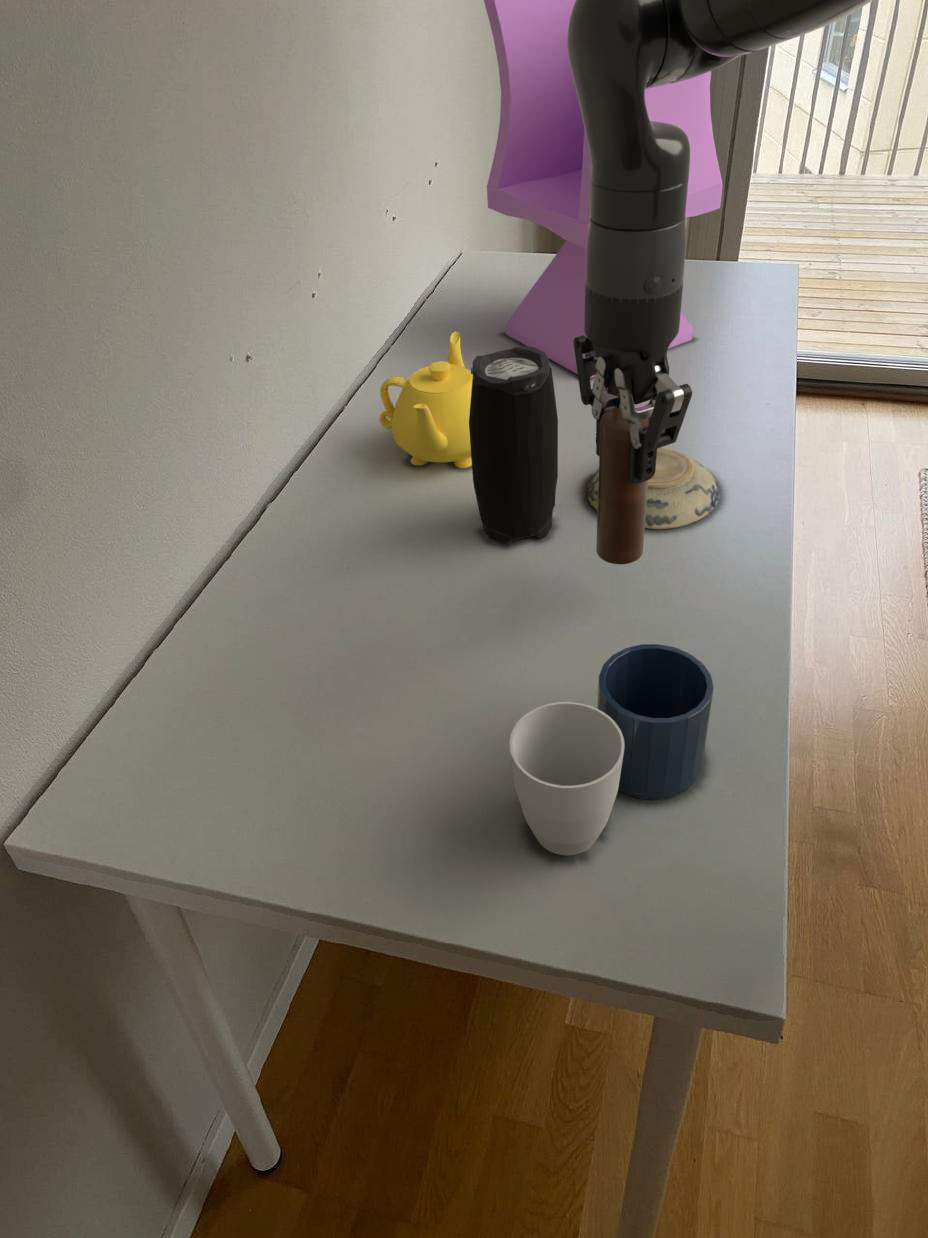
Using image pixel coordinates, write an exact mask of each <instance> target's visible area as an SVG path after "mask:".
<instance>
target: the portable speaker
mask: <svg viewBox="0 0 928 1238" xmlns="http://www.w3.org/2000/svg"><path fill="white" fill-rule="evenodd" d="M471 363H472V364H471V365H472V366H471V367H470V372H471V374H473V379H472V391H471V403H470V414H469V431H470V445H471V460H472V465H471V472H472V483H473V489H474V493H475V499H476V503H477V509H478V513H479V520H480V521H481V525H482V529H483V532H484V533H485V534H486V536H487V537H488V539H489V540H492V541H494V542H497V543H499V544H502V545H508V544H509V543H511V542H512V541H513V540H514V541H515V540H518V539H525V538H529V537H534V536H537V537H538V538H539V539H542V538H545V537H547V535H548V534H549V532H550V531H551V529H552V527H553V526H552V525H553V513H554V508H555V507H556V495H557V483H558V475H559V474H558V473H559V472H558V471H559V465H558V463H559V457H558V456H559V452H558V451H559V417H558V409H557V401H556V392H555V385H554V378H553V377H554V376H553V369H552V367H551V362H550V359H549V358H548V357H547V355H546V354H545V352H543V351H541V350H539V349H537V348H535V347H528V346H526V345H524V346H523V345H516V346H513V347H511V348H507V349H503V350H499V351H495V352H491V353H488V354H484V355H476V356H475V358H474V359H473V360H472V362H471Z"/></svg>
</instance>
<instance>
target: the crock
mask: <svg viewBox="0 0 928 1238" xmlns="http://www.w3.org/2000/svg"><path fill="white" fill-rule="evenodd" d="M711 674H712V673H710V672H709V670H708V668H707V667H706V665H705V664H704V663H703V662H702V661H701V660H699V659H698V658H697V657H695V655H693V654H691V653H689V652H687V651H685V650H683V649H680V648H678V647H675V646H670V645H665V644H661V643H644V644H643V643H642V644H637V645H633V646H629V647H626V648H622V649H621V650H619V651H617V652H615V653H614V654H612V655H610V657H609V658H608V659H607V660H606V661H605V662H604V664H602V667H601V670H600V672H599V674H598V684H597V685H598V687H597V688H598V689H597V691H598V692H597V709H599V710H600V711H602V712H604V713H605V714H607V715H608V716H609V717H610V718H612V719H613V720H614V722H615V723H616V724H617V725H618V727H619V728H620V730H621V732H622V735H623V738H624V755H623V761H622V768H621V774H620V780H619V787H618V791H619V792H620V793H622V794H624V795H627V796H630V797H633V798H638V799H641V800H650V801H651V800H653V801H655V800H664V799H670V798H674V797H676V796H678V795H680V794H682V793H684V792H686V791H688V789H689V788H691V787H692V786H693V785H694V784H695V783H696V781H697V780H698V778H699V776H700V773H701V770H702V764H703V762H704V761H703V760H704V754H705V748H706V741H707V735H708V728H709V721H710V714H711V709H712V702H713V695H714V689H715V687H714V683H713V678H712V675H711Z"/></svg>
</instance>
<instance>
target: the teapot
mask: <svg viewBox="0 0 928 1238" xmlns="http://www.w3.org/2000/svg"><path fill="white" fill-rule="evenodd" d="M448 342H449V343H448V351H447V359H446V361H442V360H441V361H440V360H439V361H435V362H432V363H430V364H429V365H426V366H424V367H421V368H419V369H418V370H416V371H414V372H413V373H412V374H411V375H410V376H409V377H408V379H406V378H404V377H401V376H392V377H389V378H387V379H385V381H383V383H381V386H380V389H379V390H380V400H381V402H382V404H383V407H384V411H382V412H381V413H380V415H379V423H380V425H381V427H384V428H386V429H388V430H391V431H392V437H393V439H394V441H395V443H396V444H397V445H398V446H399V447H400V448H401V449H402V450H403V451H404V452H405V453H408V454H409V455H410V456H412V457H411V458H410V464H412V465H414V466H423V465H426V464H428V463H451V462H453V463H454V466H455V467H456V468H459V469H466V468H469V467H472V460H471V445H470V431H469V414H470V403H471V391H472V379H473V374H471V370H470V369H468V368H466V367H465V364H464V359H463V357H462V350H461V334H460V332H459V331H454V332H452V333H451V335H450V337H449V341H448ZM390 386H396V387H400V388H402V389H401V391H400V393H399V395H398V398H397V400H396V402H395V405H394V404H393V402H392V399H391V396H390V393H389V387H390ZM387 417H388V418H387Z"/></svg>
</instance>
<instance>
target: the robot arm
mask: <svg viewBox="0 0 928 1238" xmlns="http://www.w3.org/2000/svg"><path fill="white" fill-rule="evenodd" d="M873 1H874V0H576V1H575V4H574V7H573V10H572V13H571V16H570V21H569V27H568V40H567V43H568V56H569V62H570V68H571V72H572V77H573V81H574V85H575V89H576V93H577V97H578V102H579V106H580V110H581V115H582V120H583V125H584V130H585V134H586V139H587V143H588V148H589V152H590V158H591V183H590V222H589V231H588V237H587V244H586V265H585V316H584V331H585V335H582V336H579V337H576V338H574V341H573V344H574V351H575V358H576V366H577V373H578V374H577V380H578V388H579V394H580V400H581V402H582V404H583V405H585V406H588V405H590V406H591V415H592V417H593V418H594V420H596V422H595V423H596V424H595V453H596V455H597V456H598V457H599V451H600V421H601V417H602V415H603V414H604V413H605V412H607V411H609V410H611V409H615V408H621V409H622V417H623V419H624V420H625V421H628V423H629V430H630V438H631V443H632V444H631V445H630V455H629V473H628V479H629V480H630V481H631V482H632V483H634V484H639V483H641V482H644V481H647V480H650V479H651V478H652V477H653V476H654V474H655V470H656V467H655V466H656V458H657V449H658V448H664V447H667V446H669V445H672V444H675V443H676V442H677V439H678V437H679V435H680V431H681V428H682V425H683V423H684V419H685V416H686V415H687V411H688V408H689V406H690V402H691V399H692V397H693V390H692V387H691V386H690V385H689V384H688V383H683V384H681V385H678V384H677V383H676V382H674V380H673V379H672V378H671V377H670V365H669V361H668V350H669V349H668V347H669V346H670V344H671V343H672V341H673V340H674V339H675V337H676V336H677V334H678V332H679V326H680V314H681V312H682V302H683V291H684V290H683V288H684V280H685V279H684V278H685V268H686V267H685V266H686V257H687V256H686V255H687V231H686V230H687V229H686V219H687V217H686V215H685V214H686V204H687V193H688V181H689V171H690V143H689V139H688V137H687V135H686V133H685V132H684V131H683V130H682V129H680V128H679V127H677V126H675V125H672V124H669V123H663V122H657V121H650V120H649V116H648V113H647V108H646V103H645V89H649V88H653V87H658V86H662V85H667V84H671V83H675V82H680V81H683V80H687V79H690V78H693V77H696V76H699V75H702V74H704V73H707V72H710V71H711V72H712V71H714V70H716V69H719V68H720V67H723V66H724V65H727V64H728V63H730V62H732V61H734V60H735V59H737V58H739V57H741V56H745V55H749V54H751V53H756V52H759V51H761V50H764V49H767V48H770V47H774V46H776V45H779V44H781V43H784V42H787V41H791V40H792V39H796V38H798V37H799V38H800V37H802V36H804V35H806V34H809V33H812V32H815V31H817V30H819V29H822V28H824V27H827V26H829V25H830V24H833V23H835V22H837V21H840V20H842V19H845V17H849V15H851V14H853V13H855V12H857V11H858V10H860V9H861V8H863V7H865V6H867V5H868V4H870V3H871V2H873ZM593 375H596V376H595V377H594V380H593V384H592V385H591V379H592V378H591V376H593ZM646 402H648V403H647V404H645V405H642V406H638V407H636V406H635V405H639V404H642V403H646ZM635 408H636V409H635ZM646 418H648V421H649V425H648V428H647V430H646V431H643V432H642V424H641V422H642V420H643V419H646Z"/></svg>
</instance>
